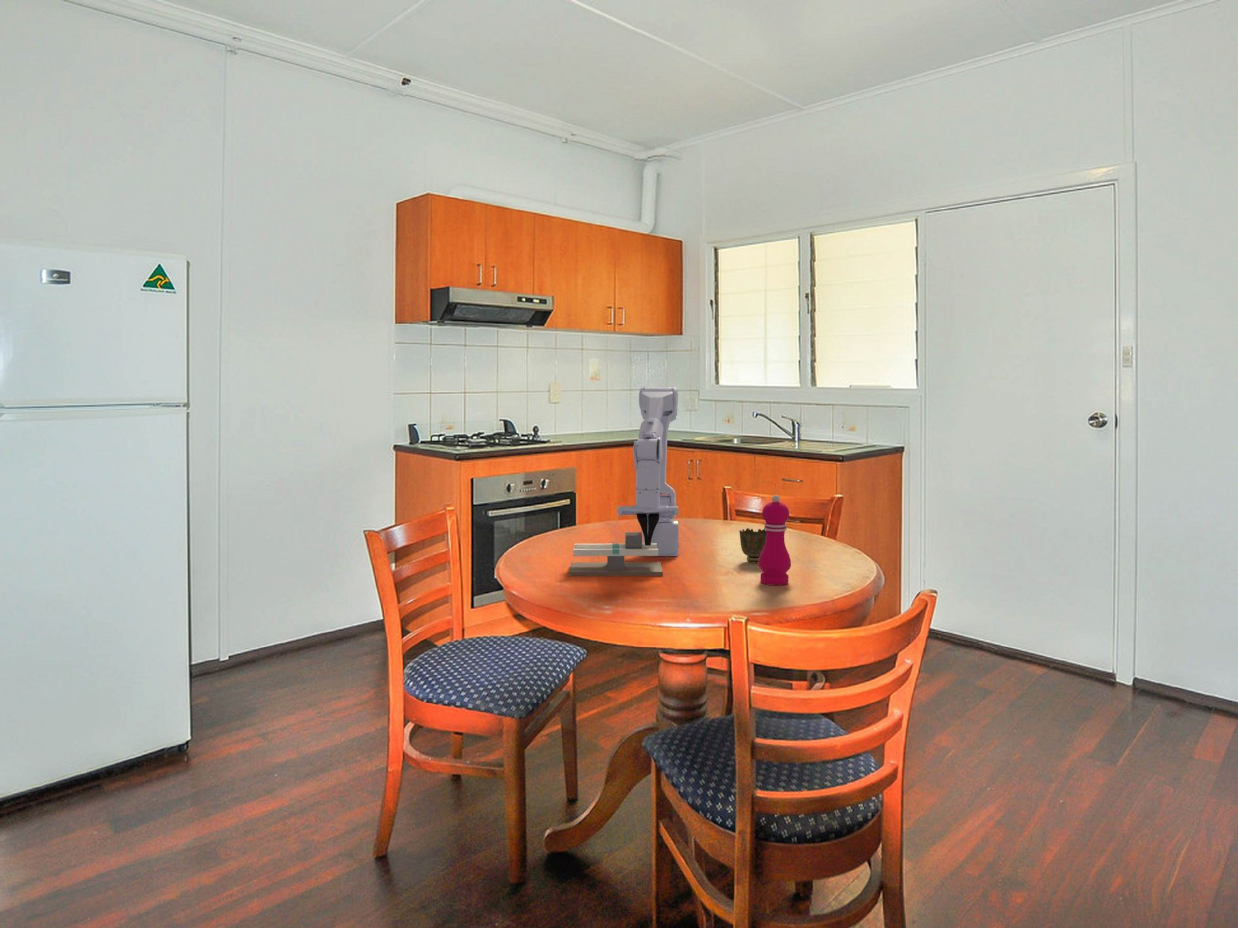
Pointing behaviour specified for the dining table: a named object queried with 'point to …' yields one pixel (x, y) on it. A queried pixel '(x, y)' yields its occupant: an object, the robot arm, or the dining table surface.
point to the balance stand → (615, 561)
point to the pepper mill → (775, 544)
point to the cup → (752, 543)
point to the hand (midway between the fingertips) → (647, 544)
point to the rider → (633, 540)
